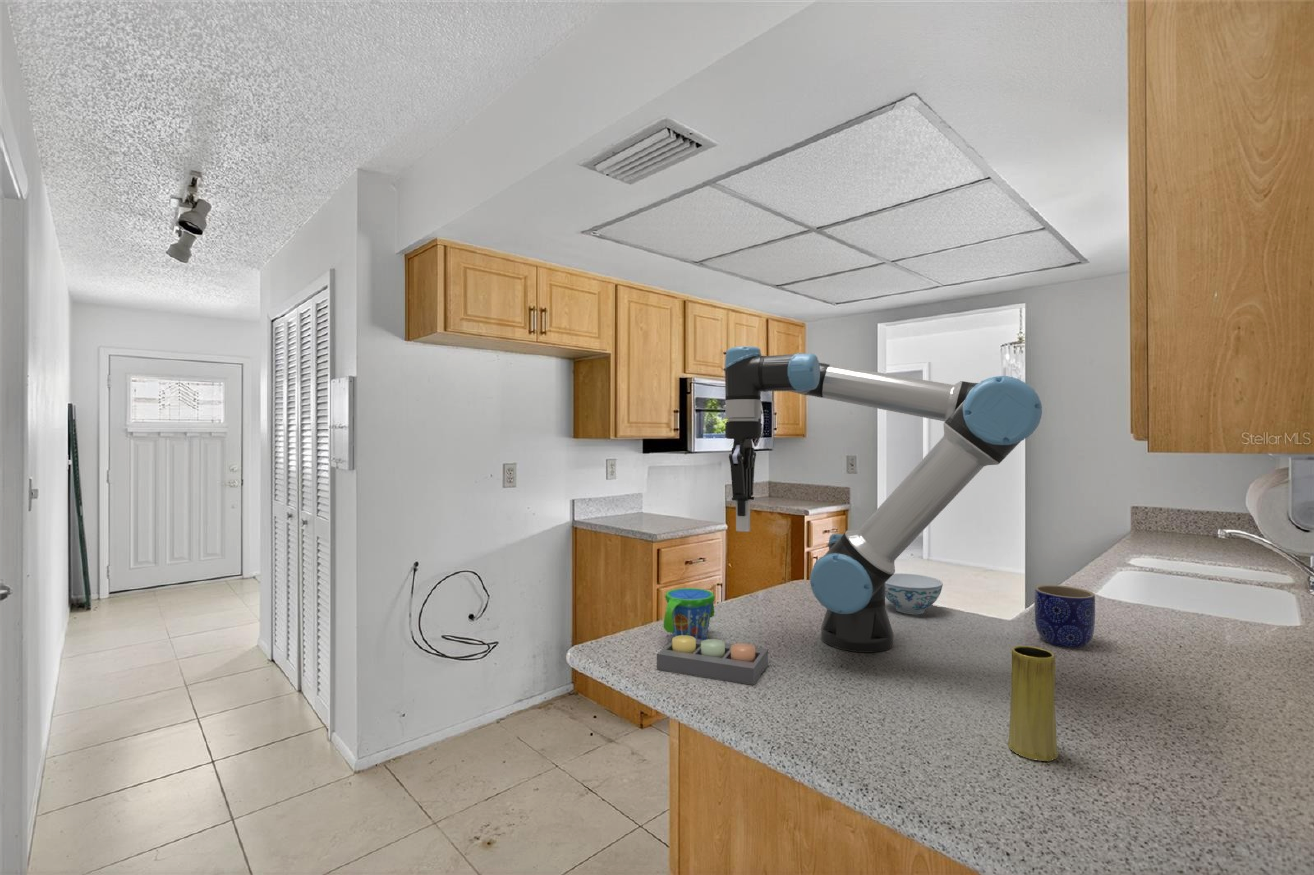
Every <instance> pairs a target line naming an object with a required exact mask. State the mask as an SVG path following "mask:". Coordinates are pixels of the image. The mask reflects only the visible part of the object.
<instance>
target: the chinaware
mask: <svg viewBox="0 0 1314 875" xmlns="http://www.w3.org/2000/svg"><path fill="white" fill-rule="evenodd" d="M942 589H943V582H942V580H941V579H938V578H936V577H931V576H927V575H921V574H917V573H916V574H915V573H894V574H893V575H892V576H891V577H890V578H889V579H888V580H887V581H886V582H885V599H887V601H888V602H889V603H891V604H892V605H893V606H894V607H895V610H896V611H897V612H899V613H903V614H907V615H921V614H924V613H925V611H926V609H928V608H930V607H931V606H932V605H934V603H936V601H937V600H938V599H939V597H940V595H941V592H942Z"/></svg>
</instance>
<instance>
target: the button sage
mask: <svg viewBox="0 0 1314 875" xmlns="http://www.w3.org/2000/svg"><path fill="white" fill-rule="evenodd" d="M725 643H726V642H725V641H723V640H721V639H717V638H710V639H709V638H707V639H706V640H703V641H702V642H701V655H705V656H712V657H719V658H722V657H723V656H724V655H725Z"/></svg>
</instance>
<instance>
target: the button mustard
mask: <svg viewBox="0 0 1314 875" xmlns="http://www.w3.org/2000/svg"><path fill="white" fill-rule="evenodd" d="M671 642H672V651H678V652H685V653H693V652H694V651H695V650H696V639H695V638H694V637H692V636H688V635H679V636H675V637H673V636H672V638H671Z"/></svg>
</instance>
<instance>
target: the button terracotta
mask: <svg viewBox="0 0 1314 875" xmlns="http://www.w3.org/2000/svg"><path fill="white" fill-rule="evenodd" d="M732 644H733V645H731V659H732V660H739V661H746V662H752V663H753V662H754V661H755V647H756V646H754V644H750V643H746V642H743V643H742V642H737V643H732Z"/></svg>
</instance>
